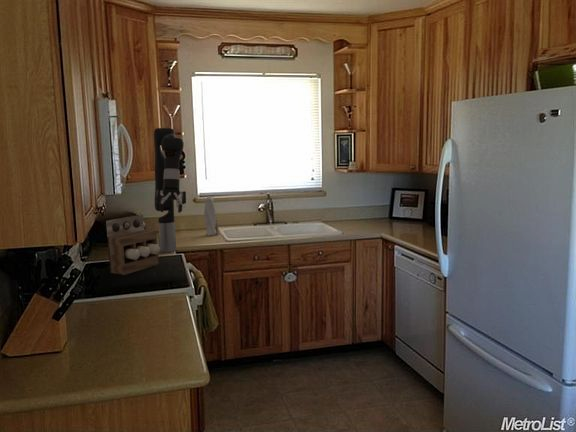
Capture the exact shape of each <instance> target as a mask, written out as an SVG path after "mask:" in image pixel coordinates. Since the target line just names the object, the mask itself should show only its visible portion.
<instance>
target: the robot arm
mask: <svg viewBox="0 0 576 432" xmlns="http://www.w3.org/2000/svg"><path fill="white" fill-rule="evenodd" d="M153 142H154V143H153V144H154V186H155V187H154V209H155V211H156V212H160V213H164V212H166V213H165V214H164V215H162V216H160V217H158V232H159V234H158V235H157V241H158V245H159V247H160V251H159V252H161V253H173V252H176V251H177V241H176V240H177V238H176V226H175V225H176V224H175V202H177V204H178V206H177V213H179V214H180V213H181V212H182V211H183V205H185V204H187V192H186V191H185V190H184V191H181V190H180V180H181V176H180V160H181V155H182V152H183V149H184V146H185V145H184V144H185V143H184V140H183V139H182V138H181V137H177V136H176V133H175V130H174V129H173V128H170V127H156V128H154V131H153ZM164 152H165V153H175V155H171V156H166V155H165V154H164ZM179 196H181V198H180V197H179Z"/></svg>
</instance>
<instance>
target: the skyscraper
mask: <svg viewBox="0 0 576 432" xmlns="http://www.w3.org/2000/svg"><path fill="white" fill-rule="evenodd" d="M202 197H203V200H204V204H205V205H204V210H203V211H204V222H205V226H206V233H205V236H208V237H216V236H220V232H219V231H220V230H219V223H218V216H217V217H216V210H215V206H214V200H215V197H214V196H209V195H208V194H207V195H205V194H204V195H203V196H202Z"/></svg>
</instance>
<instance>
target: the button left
mask: <svg viewBox="0 0 576 432" xmlns="http://www.w3.org/2000/svg"><path fill="white" fill-rule="evenodd" d="M139 256H140V252H139V250H137V249H129V248H125V249H124V258H127V259H135V260H136V259H138V258H139Z"/></svg>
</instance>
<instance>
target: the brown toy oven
mask: <svg viewBox="0 0 576 432" xmlns="http://www.w3.org/2000/svg"><path fill="white" fill-rule="evenodd" d="M105 223H106V224H105V225H106V236H107V250H108V261H109V273H110V274H116V275H122V276H125V275H129V274H132V273H135V272H138V271H141V270H145V269H146V270H147V269H149V268H152V266H153V267H155V266H158V265H159V263H160V262H159V253H158V254H149V256H147V257H143V256H139V258H138V259H136V260H135V259H127V258H124V249H125V248H129V249H136V246H144V247H146V243H148V244H157V245H158V235H157V230H154V229H153V230H152V229H151V230H150V229H145V223H144V214H138V215H132V216H126V217H120V218H115V219H109V220H106V221H105Z"/></svg>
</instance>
